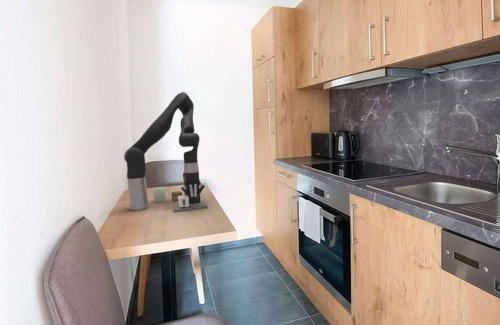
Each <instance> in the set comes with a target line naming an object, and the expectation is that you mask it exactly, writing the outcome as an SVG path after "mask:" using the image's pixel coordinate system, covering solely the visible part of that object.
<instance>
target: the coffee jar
mask: <svg viewBox="0 0 500 325" xmlns="http://www.w3.org/2000/svg"><path fill="white" fill-rule="evenodd" d="M182 179H183V184H184V183H185V174H184V172H182ZM185 188H186V191H187V192H188V193H190V190H188V189H187V187H185ZM199 189H200V186H199V187H198V189H197V192H198V190H199ZM184 195H186V194H185V193H184ZM193 196H194V191H193ZM188 198H189V204H193V203H192V202H191V197H190V196H188ZM196 203H201V194H200V195H197V202H196ZM196 203H195V204H196Z"/></svg>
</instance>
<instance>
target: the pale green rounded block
mask: <svg viewBox="0 0 500 325" xmlns="http://www.w3.org/2000/svg"><path fill="white" fill-rule="evenodd" d="M152 194H153V195H152V197H153V198H152V199H153V202H154V203H156V204H157V203H158V204H160V203H164V202H166V201H167V199H166V198H167V197H166V196H167V195H166V187H164V186H158V187H153V188H152Z"/></svg>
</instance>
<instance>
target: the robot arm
mask: <svg viewBox="0 0 500 325" xmlns="http://www.w3.org/2000/svg"><path fill="white" fill-rule="evenodd" d="M194 109H195V106H194V102H193V101H192V99H191V97H190V96H189V95H188V93H187V92H185V91H182V92H179V93H178V94H176V95H175V96H174V98H173V99H172V100H171V101H170V102H169V104H168V106H167V107H166V108H165V109H164V111H163V112H161V114H160V115H159V116H158V117H157V118H156V119H155V120H154V121H153V122H152V123H151V124H150V125H149V126H148V128H147V129H146V130H145V131H144V133H143V134H142V135H141V137H140V138H139V139H138V140H137V141H136V142H135V143H134V144H133V145H132V146H130V147H129V148H128V149H126V151H125V152H124V156H123V157H124V162H126V169H127V170H126V172H127V173H126V178H127V179H126V180H127V187H128V188H127V189H128V199H129V208H130V211H142V210H146V209H148V208H149V200H148V189H147V178H146V172H147V171H146V170H147V169H146V167H147V166H146V156H145V154H146V153H147V152H148V150H149V149H150V148H151V147H153V146H154V145H155V144H157V143H158V142H159V141H160V140H162V139H163V138H164V137H165V136H166V134H167V133H168V132H169V131H170V130H171V128H172V125H173V124H172V123H173V119H174V116H175V113H176V112H177V111H178V110H179V112H181V114H182V117H181V120H180V134H179V137H178V144H179V145H180V146H181V147H182V148H191V147H192V149H191V150H187V151H185V152H184V153H183V170H184V171H183V173H184V174H185V183H184V182H183V185H182V186H180V191H181V190H182V191H181V192H182V193H184V195H185V194H186V195H187V196H190V197H191V202H192V203H191V204H196V202H197V195H200V196H201V194H202V192H203V190H204V189H205V187H206V186H205V184H204V183H202V182H201V181H200V180H201V179H200V168H199V162H198V160H199V159H198V150H199V144H200V138H201V137H200V135H199V134H198V133H197V132H195V125H194V123H195V122H194ZM185 187H187V189H188V190H190V193H188V192H187V191H186V188H185ZM198 187H199V190H198V192H197V189H198ZM193 191H194V196H193Z"/></svg>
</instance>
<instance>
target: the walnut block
mask: <svg viewBox="0 0 500 325" xmlns="http://www.w3.org/2000/svg"><path fill="white" fill-rule="evenodd" d="M178 196H183V191H181V190H179V191H177V190H176V191H172V192H171V201H172V202H175V203H176V202H178Z"/></svg>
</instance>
